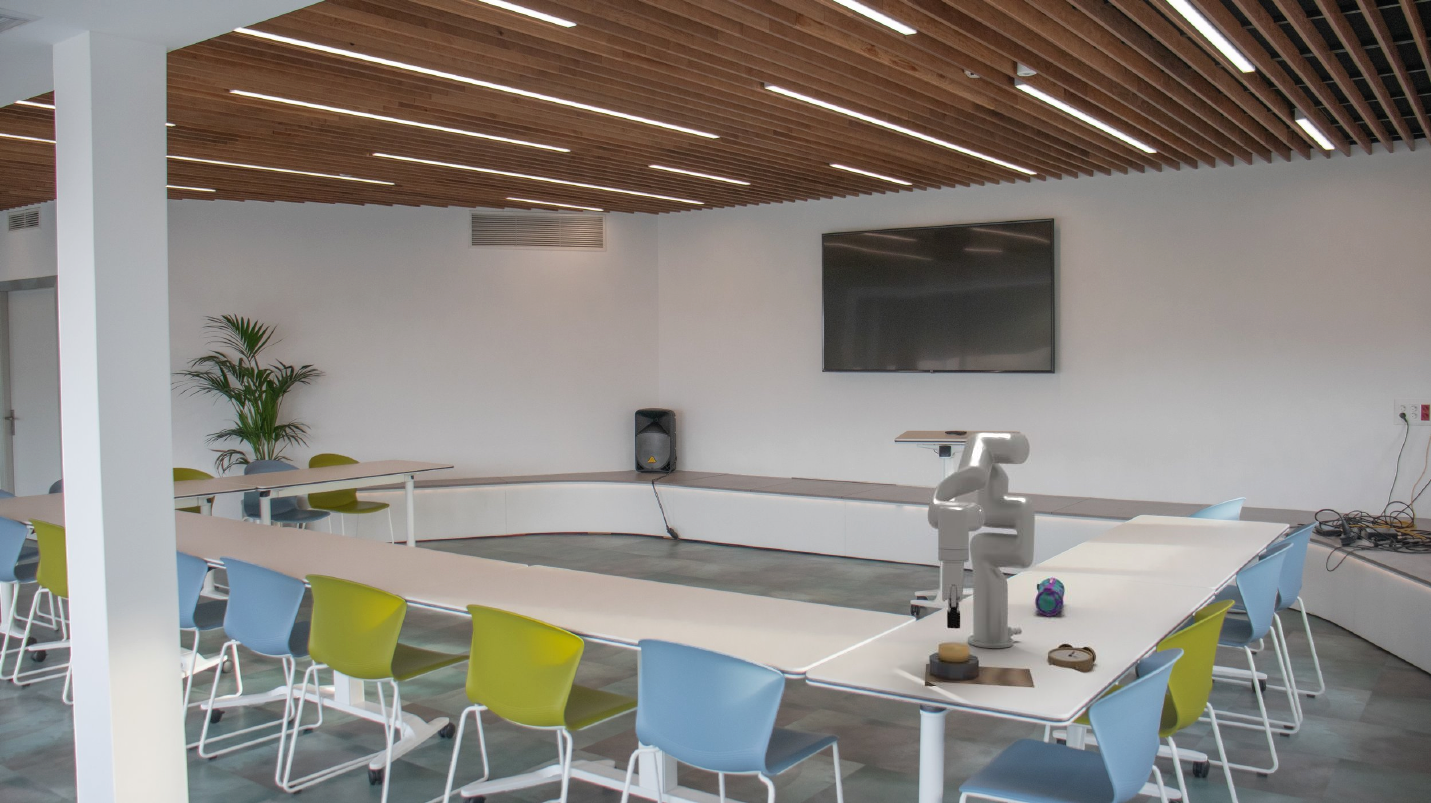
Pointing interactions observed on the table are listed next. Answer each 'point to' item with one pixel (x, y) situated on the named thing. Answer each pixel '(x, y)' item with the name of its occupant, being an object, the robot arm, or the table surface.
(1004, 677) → the mount
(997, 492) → the robot arm
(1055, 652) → the alarm clock
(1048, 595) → the pencil case
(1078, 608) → the table surface
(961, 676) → the grey faceted ring
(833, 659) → the table surface
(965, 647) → the cap
